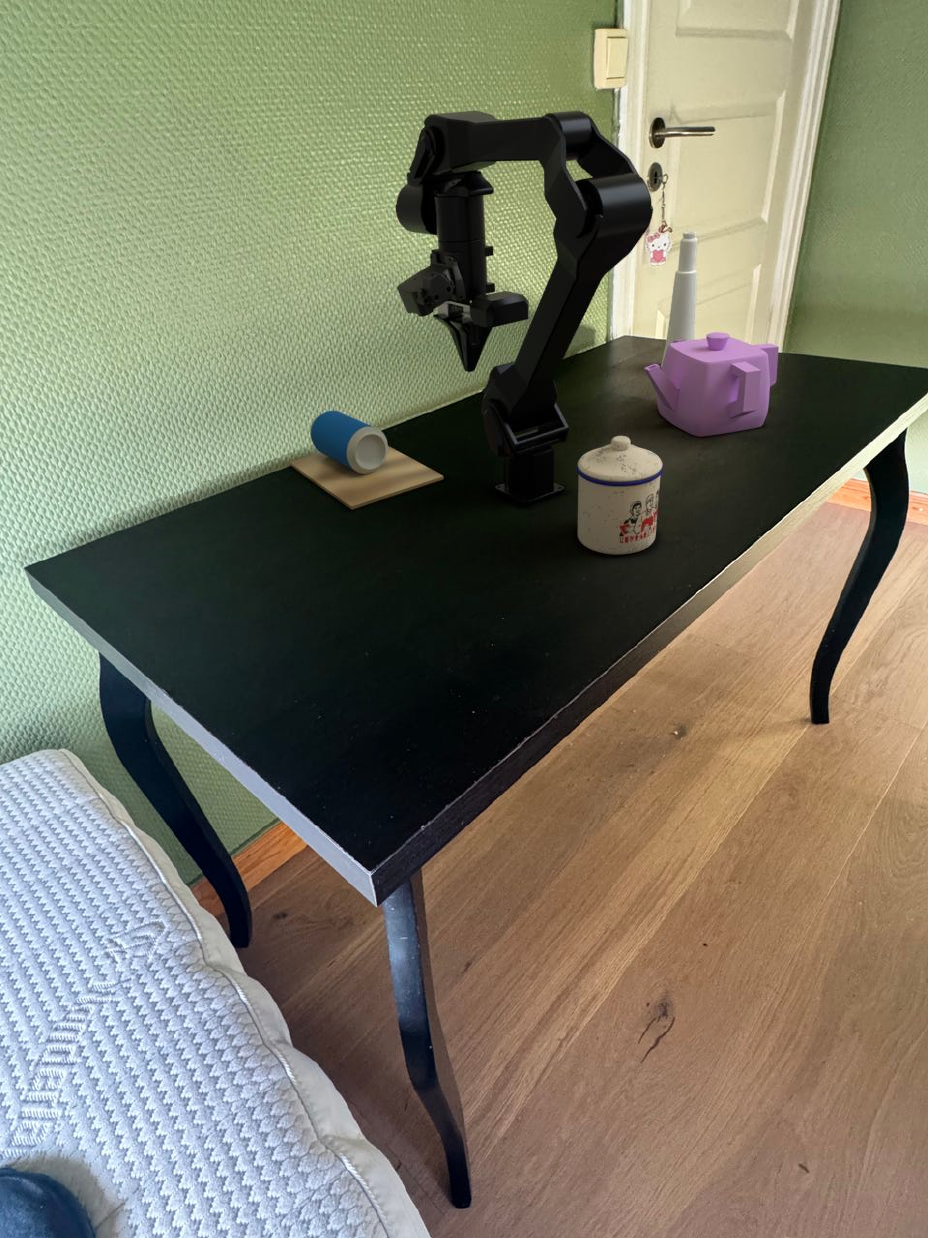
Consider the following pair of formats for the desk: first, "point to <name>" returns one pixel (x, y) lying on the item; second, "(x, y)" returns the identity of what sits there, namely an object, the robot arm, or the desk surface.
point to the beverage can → (349, 441)
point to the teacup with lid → (618, 497)
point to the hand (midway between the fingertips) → (469, 371)
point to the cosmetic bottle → (684, 293)
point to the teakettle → (715, 384)
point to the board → (366, 478)
